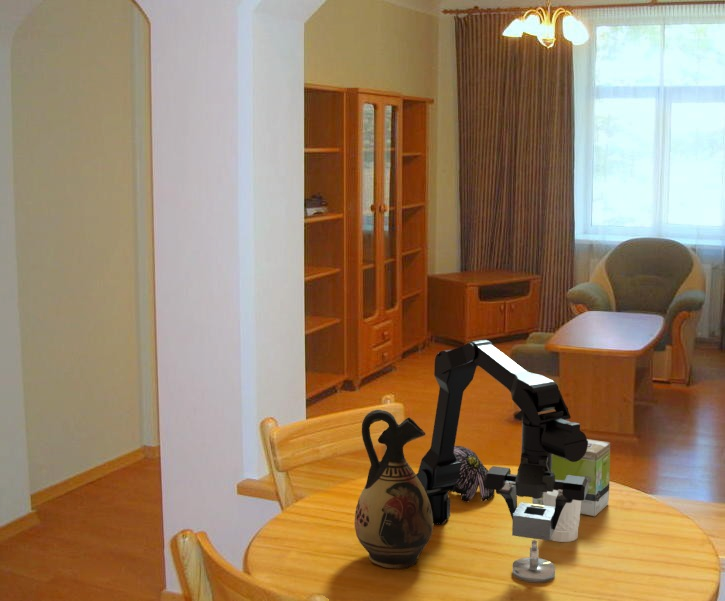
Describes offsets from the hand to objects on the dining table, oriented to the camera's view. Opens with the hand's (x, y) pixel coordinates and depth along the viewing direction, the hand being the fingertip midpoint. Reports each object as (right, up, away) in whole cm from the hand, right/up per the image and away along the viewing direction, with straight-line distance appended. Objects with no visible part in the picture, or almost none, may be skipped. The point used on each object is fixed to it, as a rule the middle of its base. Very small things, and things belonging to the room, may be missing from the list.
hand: (534, 526), depth 185 cm
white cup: (+9, -7, +19) cm, 22 cm away
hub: (0, -9, +1) cm, 10 cm away
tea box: (+15, -4, +37) cm, 40 cm away
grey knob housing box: (0, -1, 0) cm, 1 cm away
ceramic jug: (-27, -9, +8) cm, 30 cm away
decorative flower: (-8, -3, +44) cm, 45 cm away
